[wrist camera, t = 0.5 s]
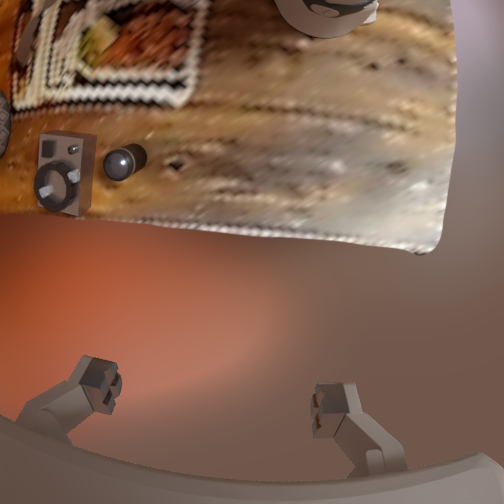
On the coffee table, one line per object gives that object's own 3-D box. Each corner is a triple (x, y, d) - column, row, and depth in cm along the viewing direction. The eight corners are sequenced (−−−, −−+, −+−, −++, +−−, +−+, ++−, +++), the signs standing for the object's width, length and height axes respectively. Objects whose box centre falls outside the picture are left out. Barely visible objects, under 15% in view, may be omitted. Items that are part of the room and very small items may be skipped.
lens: (123, 141, 50) (104, 147, 43) (149, 145, 50) (133, 152, 43) (119, 169, 52) (100, 179, 45) (144, 174, 52) (128, 184, 46)
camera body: (55, 130, 48) (34, 135, 42) (97, 135, 49) (77, 140, 43) (51, 198, 54) (32, 209, 48) (90, 207, 55) (73, 219, 49)
